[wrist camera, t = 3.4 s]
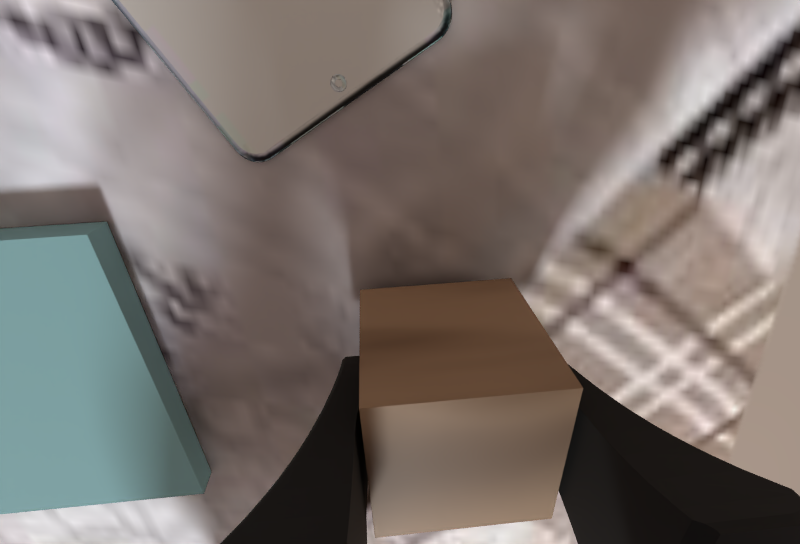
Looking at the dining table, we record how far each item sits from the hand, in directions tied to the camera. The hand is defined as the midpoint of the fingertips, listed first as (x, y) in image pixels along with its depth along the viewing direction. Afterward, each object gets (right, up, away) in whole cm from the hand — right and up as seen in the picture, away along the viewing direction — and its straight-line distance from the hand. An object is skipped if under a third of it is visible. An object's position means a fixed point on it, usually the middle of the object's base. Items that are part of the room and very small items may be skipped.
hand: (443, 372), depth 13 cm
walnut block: (0, +1, +1) cm, 1 cm away
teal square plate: (-16, -1, +2) cm, 16 cm away
